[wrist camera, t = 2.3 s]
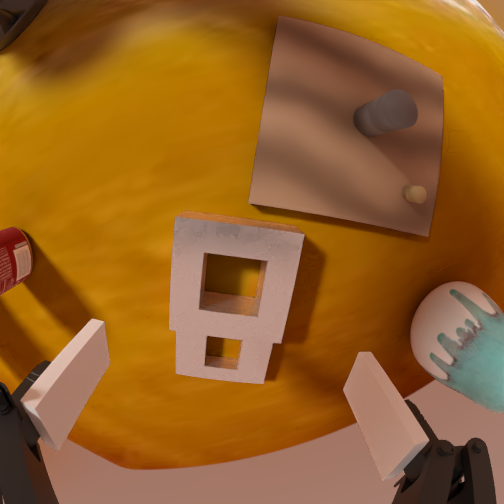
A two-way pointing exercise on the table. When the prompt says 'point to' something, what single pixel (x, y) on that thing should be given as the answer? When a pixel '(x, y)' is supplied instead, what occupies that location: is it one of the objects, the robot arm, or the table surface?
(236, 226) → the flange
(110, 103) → the table surface
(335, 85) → the post base
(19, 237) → the soda can
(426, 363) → the vase
